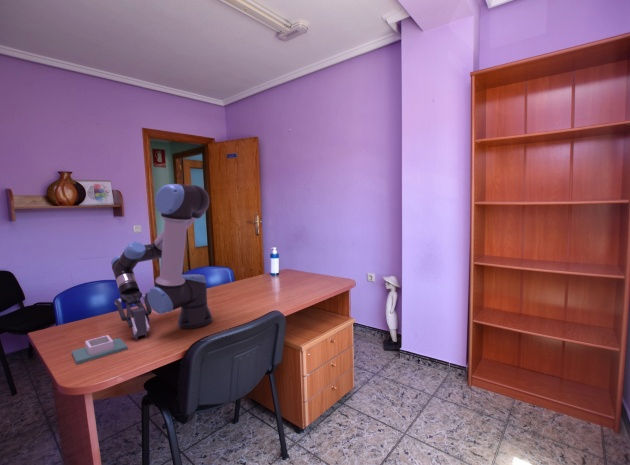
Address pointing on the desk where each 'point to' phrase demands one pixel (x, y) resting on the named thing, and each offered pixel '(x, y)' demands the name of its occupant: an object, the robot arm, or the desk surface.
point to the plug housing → (139, 322)
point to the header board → (98, 349)
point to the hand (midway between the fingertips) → (141, 331)
